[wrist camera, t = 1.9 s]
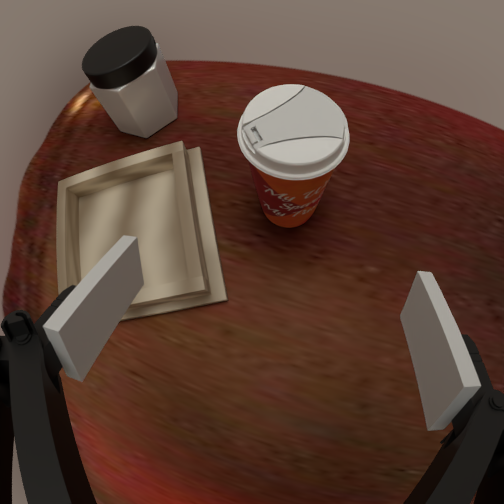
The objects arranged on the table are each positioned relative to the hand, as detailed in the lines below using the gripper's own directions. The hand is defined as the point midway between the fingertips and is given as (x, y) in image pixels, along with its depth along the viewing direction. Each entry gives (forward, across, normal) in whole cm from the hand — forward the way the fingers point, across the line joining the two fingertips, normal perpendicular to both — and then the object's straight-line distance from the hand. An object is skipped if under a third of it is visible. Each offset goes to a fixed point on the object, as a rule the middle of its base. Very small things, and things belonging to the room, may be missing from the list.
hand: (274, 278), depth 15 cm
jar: (+28, -19, +4) cm, 34 cm away
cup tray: (+15, -16, -8) cm, 24 cm away
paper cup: (+20, 0, -4) cm, 20 cm away
